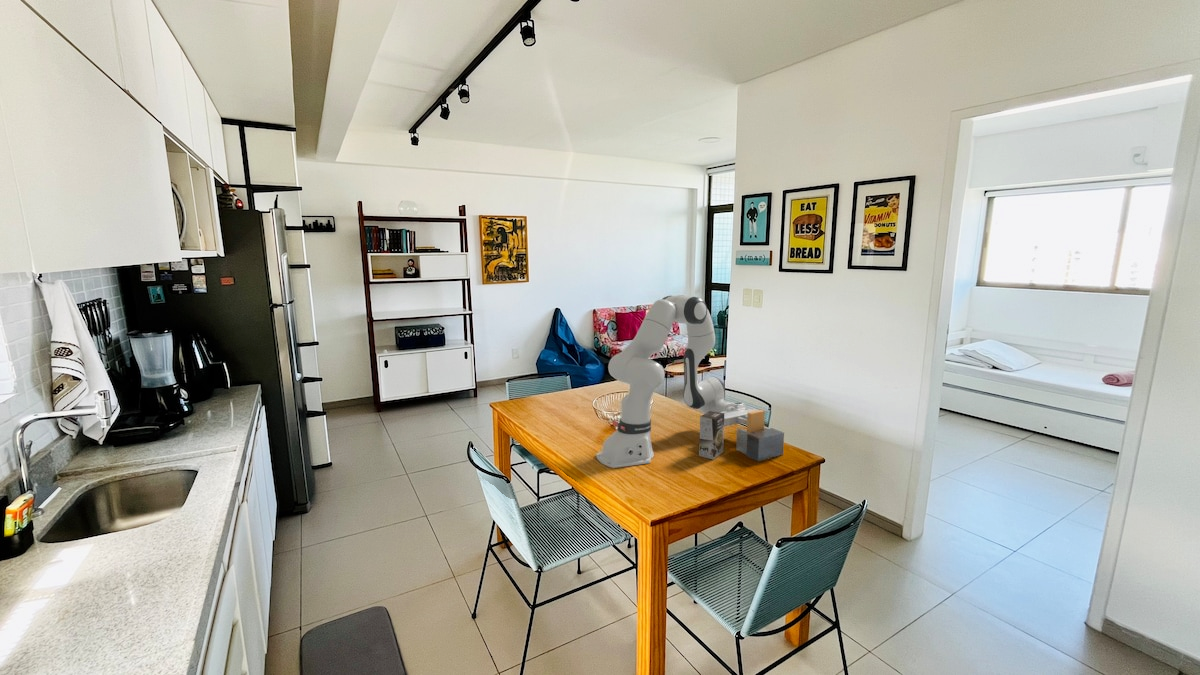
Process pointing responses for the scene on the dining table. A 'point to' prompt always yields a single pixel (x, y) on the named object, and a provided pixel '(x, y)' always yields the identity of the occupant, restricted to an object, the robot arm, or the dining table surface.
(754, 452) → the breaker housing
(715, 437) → the coffee box
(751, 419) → the breaker paddle
